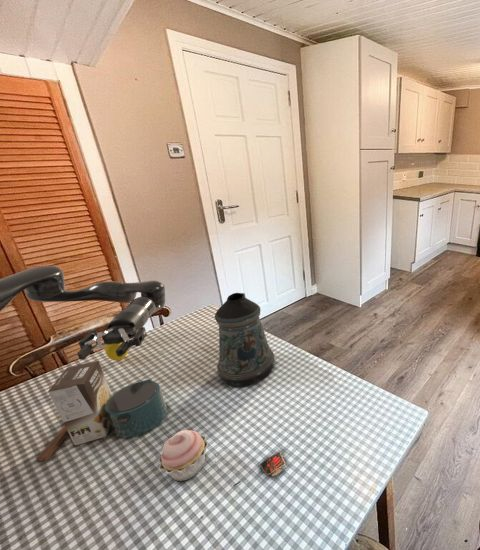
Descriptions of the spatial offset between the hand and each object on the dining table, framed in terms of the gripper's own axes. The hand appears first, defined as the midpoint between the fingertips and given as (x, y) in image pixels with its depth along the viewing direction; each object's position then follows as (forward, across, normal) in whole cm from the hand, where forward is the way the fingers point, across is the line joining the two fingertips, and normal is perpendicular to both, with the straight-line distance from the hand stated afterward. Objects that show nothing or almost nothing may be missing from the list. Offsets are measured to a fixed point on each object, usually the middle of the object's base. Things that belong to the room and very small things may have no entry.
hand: (99, 355), depth 79 cm
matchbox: (+30, -46, -11) cm, 56 cm away
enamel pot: (+10, -11, -13) cm, 20 cm away
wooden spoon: (+11, +5, -14) cm, 19 cm away
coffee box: (+11, -2, -14) cm, 18 cm away
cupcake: (+27, -27, -12) cm, 40 cm away
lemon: (-18, +7, -16) cm, 25 cm away
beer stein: (-5, -34, -13) cm, 37 cm away
